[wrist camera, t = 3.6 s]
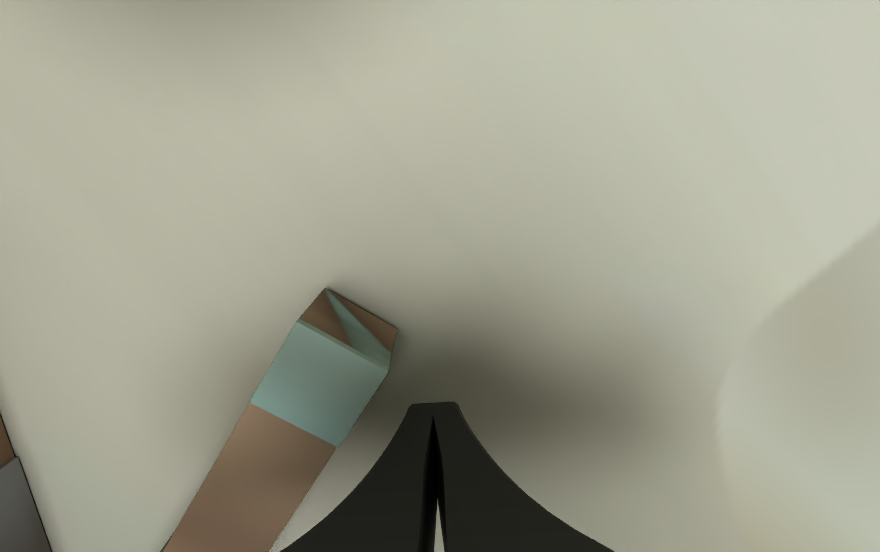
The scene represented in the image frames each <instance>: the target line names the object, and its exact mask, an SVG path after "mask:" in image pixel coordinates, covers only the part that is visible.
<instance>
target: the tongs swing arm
mask: <svg viewBox="0 0 880 552" xmlns="http://www.w3.org/2000/svg"><path fill="white" fill-rule="evenodd" d="M396 331H397V329H396V328H394V327H392V326H391V325H389V324H387V323H385V322H384V321H382V320H380V319H378V318H377V317H375V316H373V315H371V314H370V313H368V312H366V311H364V310H363V309H361V308H359V307H357V306H356V305H354V304H352V303H351V302H349V301H347V300H345V299H344V298H342V297H340V296H338V295H337V294H335V293H333V292H331V291H330V290H328V289H326V288H325V289H324V290H323V291H322V292H321V293H320V294H319V296H318V297H317V298H316V299H315V300H314V301H313V303H312V304H311V305H310V306H309V307H308V309H307V310H306V311H305V312H304V313H303V314H302V316H301V317H300V318H299V319H298V320H297V321H296V323H295V325H294V326H293V328H292V330H291V332H290V333H289V335H288V337H287V338H286V340H285V342H284V344H283V345H282V347H281V349H280V350H279V352H278V354H277V356H276V357H275V359H274V361H273V362H272V364H271V366H270V368H269V369H268V371H267V373H266V374H265V376H264V378H263V380H262V381H261V383H260V385H259V386H258V388H257V390H256V392H255V393H254V395H253V397H252V398H251V400H250V403H249V405H248V407H247V408H246V410H245V412H244V414H243V415H242V417H241V419H240V420H239V422H238V424H237V426H236V427H235V429H234V431H233V432H232V434H231V436H230V438H229V439H228V441H227V443H226V444H225V446H224V448H223V450H222V451H221V453H220V455H219V456H218V458H217V460H216V462H215V463H214V465H213V467H212V468H211V470H210V472H209V473H208V475H207V477H206V479H205V480H204V482H203V484H202V485H201V487H200V489H199V491H198V492H197V494H196V496H195V497H194V499H193V501H192V503H191V504H190V506H189V508H188V509H187V511H186V513H185V515H184V516H183V518H182V520H181V521H180V523H179V525H178V527H177V528H176V530H175V531H174V533H173V534H172V536H171V537H170V538H169V540H168V541H167V543H166V544H165V546H164V547H163V549H162V550H161V551H160V552H268V551H269V550H270V548H271V547H272V545H273V544H274V542H275V541H276V539H277V538H278V536H279V535H280V533H281V532H282V530H283V529H284V527H285V526H286V524H287V523H288V521H289V520H290V518H291V516H292V515H293V513H294V512H295V510H296V509H297V507H298V506H299V504H300V503H301V501H302V500H303V498H304V497H305V495H306V494H307V492H308V491H309V489H310V488H311V486H312V485H313V483H314V481H315V480H316V478H317V477H318V475H319V474H320V472H321V471H322V469H323V468H324V466H325V465H326V463H327V462H328V460H329V459H330V457H331V456H332V454H333V453H334V451H335V450H336V448H337V447H338V448H339V446H340V445H341V443H342V441H343V440H344V438H345V437H346V435H347V434H348V432H349V431H350V429H351V428H352V426H353V425H354V423H355V422H356V420H357V419H358V417H359V416H360V414H361V413H362V411H363V410H364V408H365V407H366V405H367V404H368V402H369V400H370V399H371V397H372V396H373V394H374V393H375V391H376V390H377V388H378V387H379V385H380V384H381V382H382V381H383V379H384V378H385V376H386V375H387V373H388V370H389V365H390V360H391V355H392V350H393V345H394V341H395V336H396Z"/></svg>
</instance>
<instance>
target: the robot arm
mask: <svg viewBox="0 0 880 552" xmlns="http://www.w3.org/2000/svg"><path fill="white" fill-rule="evenodd" d="M437 500H438V505H439V512H440V520H441V528H442V536H443V543H444V551H445V552H614V551H613V550H611V549H609V548H607V547H606V546H604V545H602V544H600V543H598V542H597V541H595V540H593V539H591V538H589V537H588V536H586V535H584V534H582V533H580V532H579V531H577V530H575V529H574V528H572V527H571V526H569V525H568V524H566V523H565V522H563V521H561V520H560V519H558V518H557V517H555V516H554V515H553V514H551V513H550V512H548V511H547V510H546V509H545V508H543V507H542V506H541V505H540V504H538V503H537V502H536V501H535V500H533V499H532V498H531V497H529V496H528V495H527V494H526V493H525V492H524V491H523V490H522V489H521V488H519V487H518V486H517V485H516V484H515V483H514V482H513V481H512V480H511V479H510V478H509V477H508V476H507V475H506V474H505V473H504V472H503V470H502V469H501V468H500V467H499V466H498V465H497V464H496V462H495V461H494V460H493V459H492V458H491V456H490V455H489V454H488V453H487V451H486V450H485V449H484V447H483V446H482V445H481V443H480V442H479V441H478V439H477V438H476V436H475V435H474V433H473V432H472V430H471V429H470V427H469V425H468V424H467V422H466V420H465V419H464V417H463V415H462V413H461V411H460V408H459V405H458V404H457V403H456V402H438V403H419V404H412V405H411V406H410V407H409V408H408V410H407V413H406V415H405V417H404V419H403V421H402V423H401V425H400V427H399V428H398V430H397V432H396V434H395V435H394V437H393V438H392V440H391V442H390V443H389V445H388V446H387V448H386V449H385V451H384V452H383V454H382V455H381V456H380V458H379V459H378V461H377V462H376V463H375V465H374V466H373V467H372V469H371V470H370V471H369V473H368V474H367V475H366V476H365V477H364V479H363V480H362V481H361V482H360V483H359V484H358V485H357V487H356V488H355V489H354V490H353V491H352V492H351V493H350V494H349V495H348V496H347V497H346V498H345V499H344V500H343V501H342V502H341V503H340V504H339V505H338V506H337V507H336V508H335V509H334V510H333V511H332V512H331V513H330V514H329V515H328V516H326V517H325V518H324V519H323V520H322V521H321V522H319V523H318V524H317V525H316V526H314V527H313V528H312V529H311V530H309V531H308V532H307V533H305V534H304V535H303V536H301V537H300V538H299V539H298V540H296V541H295V542H293V543H292V544H291V545H289V546H288V547H286V548H285V549H283V550H282V551H280V552H434V543H435V529H436V514H437Z"/></svg>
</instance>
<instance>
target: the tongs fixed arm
mask: <svg viewBox="0 0 880 552" xmlns="http://www.w3.org/2000/svg"><path fill="white" fill-rule="evenodd" d="M0 552H51V550H50V547H49V544H48V541H47V538H46V535H45V533H44V530H43V527H42V524H41V521H40V518H39V516H38V513H37V510H36V507H35V504H34V501H33V498H32V496H31V493H30V490H29V487H28V484H27V481H26V479H25V476H24V473H23V470H22V467H21V464H20V462H19V459H18V457H15V456H14V454H13V451H12V448H11V445H10V442H9V440H8V437H7V434H6V431H5V428H4V425H3V423H2V420H1V417H0Z"/></svg>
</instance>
